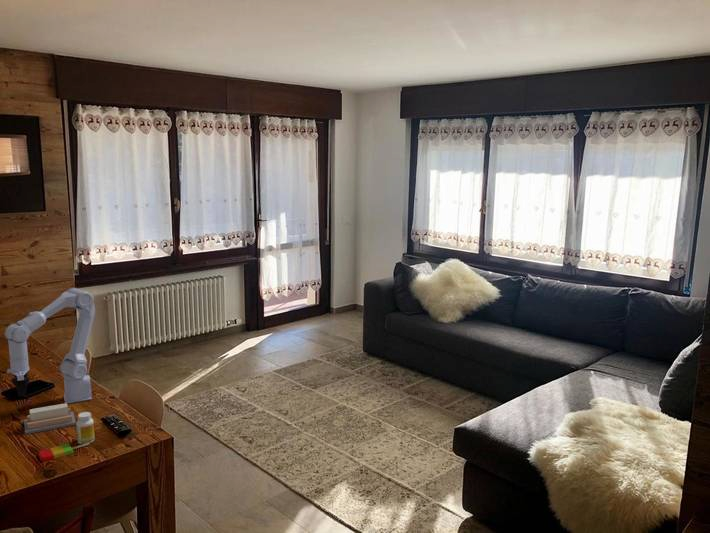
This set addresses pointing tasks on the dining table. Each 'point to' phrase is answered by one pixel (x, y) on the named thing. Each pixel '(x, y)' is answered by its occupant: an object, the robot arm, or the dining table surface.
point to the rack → (49, 423)
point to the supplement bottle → (85, 428)
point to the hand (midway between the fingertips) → (22, 392)
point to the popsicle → (57, 452)
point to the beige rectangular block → (48, 412)
